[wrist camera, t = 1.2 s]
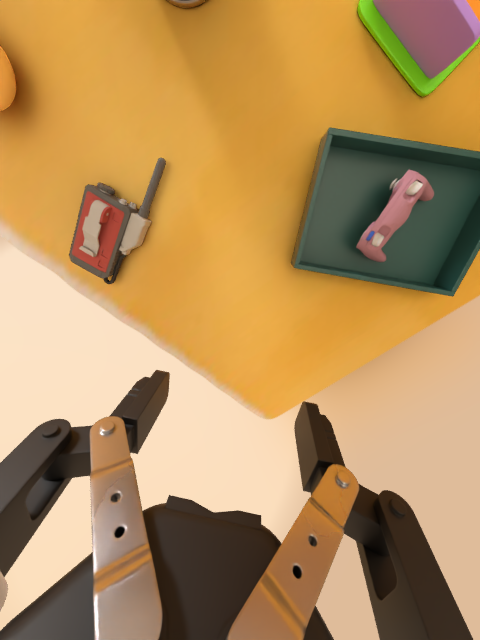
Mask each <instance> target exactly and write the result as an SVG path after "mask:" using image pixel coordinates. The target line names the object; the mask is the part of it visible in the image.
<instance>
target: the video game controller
mask: <svg viewBox="0 0 480 640" xmlns="http://www.w3.org/2000/svg"><path fill="white" fill-rule="evenodd" d="M396 181H397V179H395V180H394V181H393V182H392V183H391V185H390V190H391V189H392V188H393V190H392V195H391V196H390V198H389V201H388V203H387V205H386V207H385V209H384V210H383V212H382V213H381V215H380V216H379V218H378V219H377V220H376V221H375V222H372V223H371V225H370V226H369V227H368V228H367V230H366V231H365V232H364V233H363V235H362V236H361V238H360V241H359V242H358V244H357V246H356V248H358V249H359V250H361V252H362V253H363V254H364V255H365V256H366V257H367V258H369V259H371V260H374V261H376V262H385V261H386V255H385V254H384V252H383V251H382V250H381V248H382V247H383V246H384V245H385V244H386V242H387V241H388V240H389V239H390V237H391V236H392V234H393V233H394V232H395V231H396V230H397V229H398V228H400V227H401V226H402V225H403V224H404V223H405V221H406V220H407V219H408V217H409V215H410V213H411V210H412V207H413V206H414V204H415V203H416V202H417V200H418V199H419V200H422V201H429V200H431V199H432V198H433V196H434V191H433V189H432V187H431V185H430V184H429V182H428V181H427V179H426V178H425V177H424V176H422V175H421V174H419V172H416V171H413V170H408V171H407V172H406V173H405V175H404V176H403V177H402V178H401V179H400V180H398V181H397V182H396Z"/></svg>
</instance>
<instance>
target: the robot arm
mask: <svg viewBox="0 0 480 640" xmlns="http://www.w3.org/2000/svg"><path fill="white" fill-rule="evenodd" d="M167 1H168V2H170V3H171V4H173V5H176V6H178V7H183V8H190V7H195V6H198V5H200V4H202V3H204V2H205V1H206V0H167ZM168 391H169V372H164V371H159V370H156V371H155V372H154V373H153V375H152V376H151V377H150V378H149V377H144V378H142V379H141V380H139V381H137V382H136V384H135V385H134V386H133V387H132V390H130V391H129V393H128V394H127V395H126V396H125V397H124V399H123V400H122V401H121V403H120V404H119V405H118V406H117V408H116V409H115V410H114V411H113V413H112V414H111V415H110V416H109V417H105V418H103V419H101V420H99V421H97V422H96V423H95V424H94V425H92V426H85V427H71V425H70V423H69V422H68V421H67V420H64V419H55V420H51V421H47V422H45V423H43V424H41V425H40V426H38V427H37V428H36V429H35V430H33V432H31V433H30V434H29V435H28V436H27V438H25V439H24V440H23V441H22V442H21V443H20V444H19V445H18V446H17V447H16V448H15V449H14V450H13V451H12V452H11V453H10V454H9V455H8V456H7V457H6V458H5V459H4V460H3V461H2V462H1V463H0V610H1V608H2V607H3V605H4V602H5V600H6V596H7V591H8V586H7V582H6V580H5V578H4V577H5V575H6V574H7V573H8V571H9V570H10V568H11V567H12V565H13V564H14V562H15V561H16V559H17V558H18V556H19V555H20V554H21V552H22V550H23V549H24V548H25V546H26V545H27V543H28V542H29V540H30V539H31V537H32V536H33V535H34V533H35V532H36V530H37V529H38V527H39V526H40V524H41V523H42V521H43V519H44V518H45V517H46V515H47V514H48V513H49V511H50V510H51V508H52V507H53V505H54V504H55V502H56V501H57V499H58V498H59V496H60V495H61V494H62V492H63V491H64V489H65V488H66V486H67V485H68V483H69V482H70V480H71V479H72V478H74V477H81V476H90V485H91V486H90V487H91V516H92V545H93V546H92V548H93V552H92V553H91V554H90V555H89V556H87V557H86V558H85V559H84V560H83V561H81V562H80V563H79V564H78V565H77V566H76V567H74V568H73V569H72V570H71V571H70V572H68V573H67V574H66V575H65V576H64V577H62V578H61V579H60V580H59V581H58V582H57V583H55V584H54V585H53V586H52V587H50V588H49V589H48V590H47V591H46V592H44V593H43V594H42V595H41V596H40V597H39V598H37V599H36V600H35V601H34V602H33V603H31V604H30V605H29V606H28V607H27V608H25V609H24V610H23V611H22V612H21V613H19V615H17V616H16V617H15V618H14V619H12V620H11V621H10V622H9V623H8V624H7V625H6V626H5V627H4V628H3V629H2V630H1V631H0V640H334V639H333V637H332V635H331V633H330V632H329V630H328V628H327V626H326V624H325V622H324V621H323V619H322V617H321V615H320V613H319V611H318V610H317V608H316V606H315V604H316V602H317V599H318V597H319V594H320V592H321V589H322V587H323V584H324V582H325V579H326V577H327V574H328V572H329V569H330V567H331V564H332V562H333V559H334V557H335V554H336V552H337V549H338V547H339V544H340V542H341V539H342V537H343V534H346V535H347V536H349V537H351V538H353V539H354V540H356V543H357V547H358V551H359V555H360V559H361V563H362V567H363V572H364V576H365V579H366V584H367V588H368V592H369V596H370V600H371V605H372V608H373V613H374V616H375V621H376V625H377V629H378V633H379V638H380V640H473V638H472V636H471V634H470V632H469V629H468V627H467V625H466V623H465V621H464V619H463V617H462V614H461V612H460V610H459V608H458V606H457V604H456V602H455V600H454V597H453V595H452V593H451V591H450V589H449V587H448V585H447V583H446V580H445V578H444V576H443V574H442V572H441V570H440V568H439V565H438V563H437V561H436V559H435V557H434V555H433V552H432V550H431V548H430V546H429V544H428V542H427V540H426V537H425V535H424V533H423V531H422V529H421V527H420V525H419V523H418V520H417V518H416V516H415V514H414V512H413V510H412V509H411V507H410V506H409V504H408V503H407V502H406V501H405V500H404V499H403V498H402V497H400V496H399V495H397V494H396V493H394V492H392V491H388V490H384V491H382V492H381V493H380V494H379V495H378V494H376V493H374V492H372V491H370V490H369V489H367V488H365V487H363V486H361V485H360V484H358V481H357V479H356V478H355V476H354V475H353V474H352V473H351V472H350V471H349V470H348V469H347V468H346V467H345V464H344V461H343V458H342V456H341V452H340V449H339V446H338V443H337V441H336V437H335V434H334V431H333V428H332V425H331V423H330V421H329V420H328V419H327V417H326V416H325V415H321V414H320V412H319V409H318V406H317V404H314V403H309V402H303V403H302V405H301V408H300V411H299V413H298V416H297V418H296V421H295V437H296V444H297V451H298V458H299V465H300V472H301V479H302V486H303V491H307V492H311V497H310V498H309V499H308V501H307V503H306V504H305V506H304V508H303V509H302V511H301V513H300V514H299V516H298V518H297V519H296V521H295V523H294V524H293V526H292V528H291V529H290V531H289V532H288V534H287V536H286V537H285V539H284V541H283V543H282V544H281V542H280V541H279V540H278V539H277V537H276V536H275V535H274V534H273V533H272V532H271V531H270V530H269V529H267V528H266V527H265V526H263V525H261V515H256V514H251V513H247V512H243V511H228V512H217V513H214V512H211V511H209V510H208V509H206V508H204V507H202V506H201V505H199V504H197V503H195V502H194V501H192V500H188V499H183V498H179V497H175V496H170V495H169V497H168V500H167V503H164V504H159V505H155V506H152V507H150V508H148V509H146V510H144V511H142V506H141V501H140V496H139V491H138V485H137V480H136V475H135V469H134V464H133V460H132V458H131V456H130V453H136V454H138V452H139V450H140V448H141V446H142V445H143V443H144V441H145V439H146V437H147V436H148V434H149V432H150V430H151V428H152V426H153V425H154V423H155V421H156V419H157V417H158V416H159V414H160V412H161V410H162V408H163V406H164V404H165V402H166V400H167V397H168Z"/></svg>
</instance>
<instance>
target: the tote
mask: <svg viewBox="0 0 480 640" xmlns="http://www.w3.org/2000/svg"><path fill="white" fill-rule="evenodd" d="M408 170H413V171H416V172H419V174H421V175H422V176H424V177H425V178H426V179H427V181H428V182H429V184H430V185H431V187H432V189H433V191H434V196H433V198H432V199H431V200H429V201H422V200H419V199H418V200H417V202H416V203H415V204H414V206H413V207H412V210H411V213H410V215H409V217H408V219H407V220H406V221H405V223H404V224H403V225H402V226H401V227H400V228H398V229H397V230H396V231H395V232H394V233H393V234H392V236H391V237H390V239H389V240H388V241H387V242H386V244H385V245H384V246H383V247H382V248H381V250H382V251H383V252H384V254H385V255H386V261H385V262H376V261H374V260H371V259H369V258H367V257H366V256H365V255H364V254H363V253H362V252H361V250H359V249H358V248H356V246H357V244H358V242H359V241H360V238H361V236H362V235H363V233H364V232H365V231H366V230H367V228H368V227H369V226H370V225H371V223H372V222H375V221H376V220H377V219H378V218H379V216H380V215H381V213H382V212H383V210H384V209H385V207H386V205H387V203H388V201H389V198H390V196H391V195H392V190H393V188H392V189H391V190H390V185H391V183H392V182H393V181H394V180H395V179H397V181H398V180H400V179H401V178H402V177H403V176H404V175H405V173H406V172H407V171H408ZM397 181H396V182H397ZM479 250H480V152H478V151H472V150H466V149H459V148H453V147H447V146H441V145H435V144H428V143H422V142H416V141H410V140H404V139H398V138H391V137H385V136H379V135H373V134H367V133H360V132H354V131H348V130H342V129H336V128H329V129H328V130H327V132H326V133H325V135H324V136H323V138H322V139H321V142H320V146H319V150H318V155H317V159H316V163H315V167H314V171H313V175H312V179H311V183H310V187H309V191H308V195H307V199H306V203H305V207H304V212H303V216H302V220H301V224H300V228H299V232H298V236H297V240H296V244H295V248H294V252H293V256H292V260H291V264H292V266H293V267H294V268H297V269H303V270H308V271H314V272H320V273H325V274H331V275H336V276H342V277H347V278H353V279H359V280H364V281H370V282H375V283H381V284H386V285H392V286H398V287H403V288H409V289H414V290H420V291H425V292H431V293H437V294H442V295H448V296H454V294H455V292H456V291H457V289H458V287H459V285H460V283H461V282H462V280H463V278H464V276H465V275H466V273H467V271H468V269H469V267H470V266H471V264H472V262H473V260H474V258H475V257H476V255H477V253H478V251H479Z"/></svg>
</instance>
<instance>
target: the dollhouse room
mask: <svg viewBox="0 0 480 640" xmlns="http://www.w3.org/2000/svg"><path fill="white" fill-rule="evenodd" d="M357 11H358V15H359V17H360V19H361V21H362V22H363V24H364V25H365V26H366V28H367V29H368V31H369V32H370V33H371V35H372V36H373V37H374V39H375V40H376V41H377V43H378V44H379V45H380V47H381V48H382V49H383V51H384V52H385V53H386V55H387V56H388V57H389V59H390V60H391V61H392V63H393V64H394V65H395V67H396V68H397V69H398V70H399V72H400V73H401V74H402V76H403V77H404V78H405V80H406V81H407V82H408V83H409V85H410V86H411V87H412V88H413V90H414V91H415V92H416V93H417V94H418V95H420V96H422V97H424V96H427V95H428V94H430V93H431V92H432V91H433V90H434V89H436V88H437V87H438V86H439V85H440V84H441V82H442V81H443V80H444V79H445V78H446V77H447V76H448V75H449V74H450V73H451V72H452V71H453V70H454V69H455V68H456V67H457V66H458V65H459V63H460V62H461V61H462V60H463V59H464V58H465V57H466V56H467V55H468V54H469V53H470V52H471V51H472V49H473V48H474V47H475V46H476V45H477V44H478V43H479V42H480V0H360V1H359V4H358V8H357Z"/></svg>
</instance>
